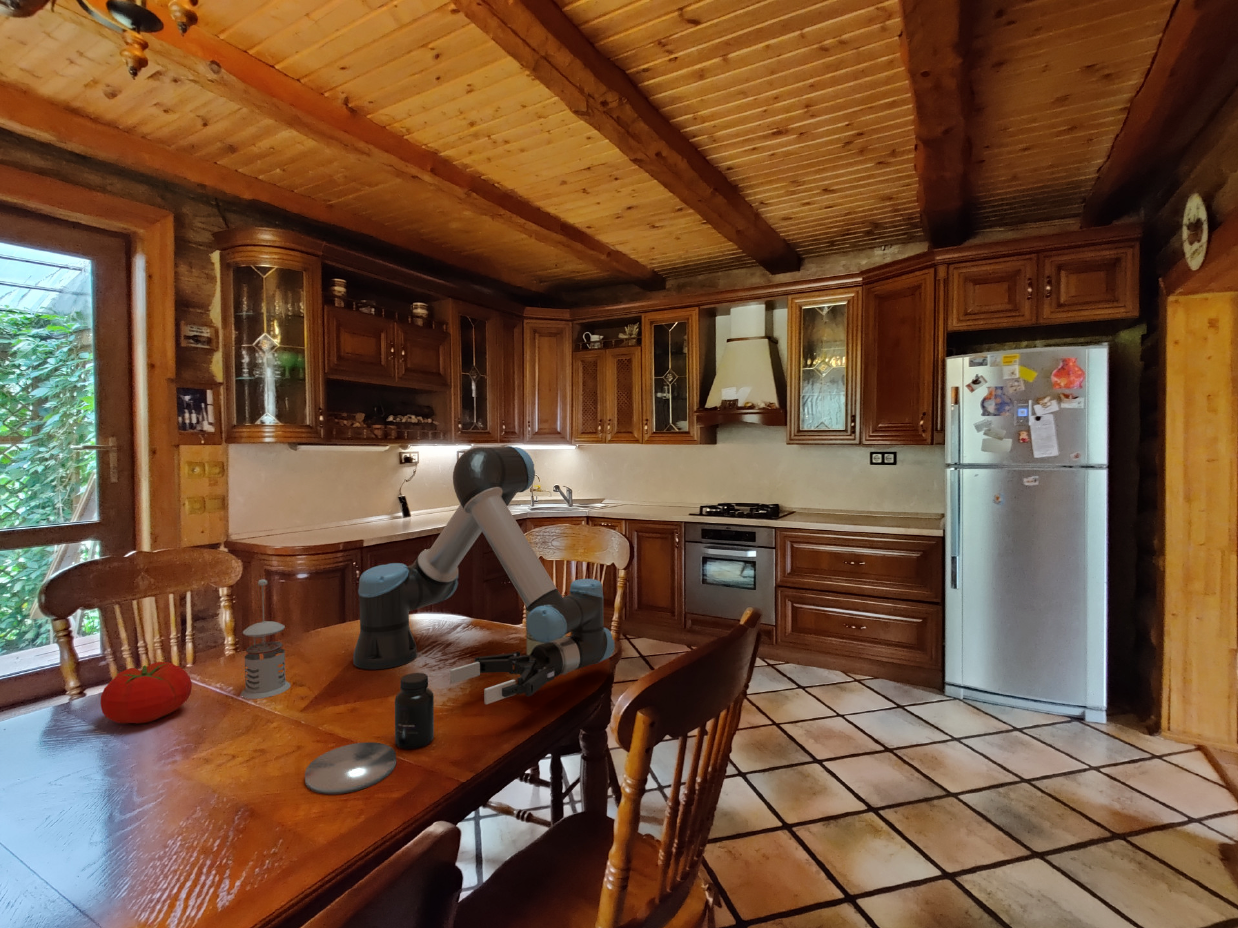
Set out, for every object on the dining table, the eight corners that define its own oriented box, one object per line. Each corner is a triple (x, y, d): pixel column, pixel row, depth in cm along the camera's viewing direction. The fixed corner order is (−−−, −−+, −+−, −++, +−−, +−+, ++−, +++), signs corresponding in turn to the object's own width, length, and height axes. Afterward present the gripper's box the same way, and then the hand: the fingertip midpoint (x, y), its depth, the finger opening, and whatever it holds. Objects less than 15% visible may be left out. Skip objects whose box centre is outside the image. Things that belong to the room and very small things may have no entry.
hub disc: (294, 769, 102) (294, 762, 102) (377, 740, 111) (377, 734, 111) (320, 805, 92) (320, 797, 92) (409, 770, 101) (409, 763, 101)
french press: (244, 702, 128) (240, 586, 127) (235, 686, 137) (231, 577, 136) (295, 689, 135) (292, 579, 134) (283, 675, 144) (280, 571, 143)
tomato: (173, 694, 133) (171, 650, 133) (204, 713, 124) (202, 666, 123) (89, 719, 121) (86, 671, 121) (116, 742, 112) (113, 690, 111)
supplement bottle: (397, 754, 107) (396, 687, 106) (393, 737, 113) (391, 674, 112) (437, 744, 110) (436, 680, 109) (430, 729, 116) (429, 667, 115)
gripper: (591, 691, 124) (502, 726, 109) (522, 660, 142) (438, 686, 127) (590, 655, 123) (501, 685, 109) (521, 629, 142) (437, 651, 127)
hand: (467, 686), depth 118 cm, fingers open, 13 cm apart
